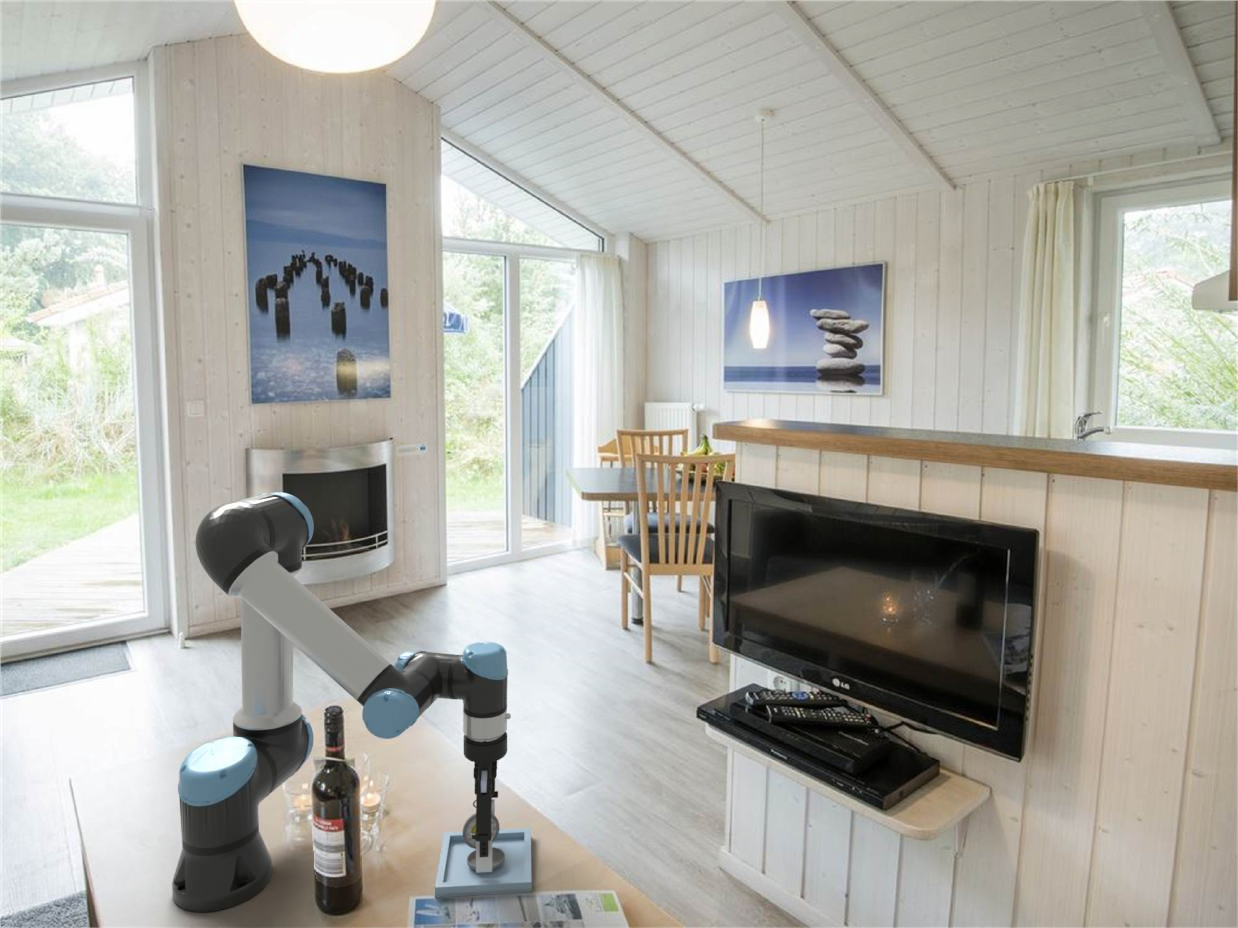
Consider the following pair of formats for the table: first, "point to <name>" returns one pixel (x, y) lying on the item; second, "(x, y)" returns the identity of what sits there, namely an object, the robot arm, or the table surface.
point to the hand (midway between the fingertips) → (485, 851)
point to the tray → (503, 879)
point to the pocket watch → (470, 828)
